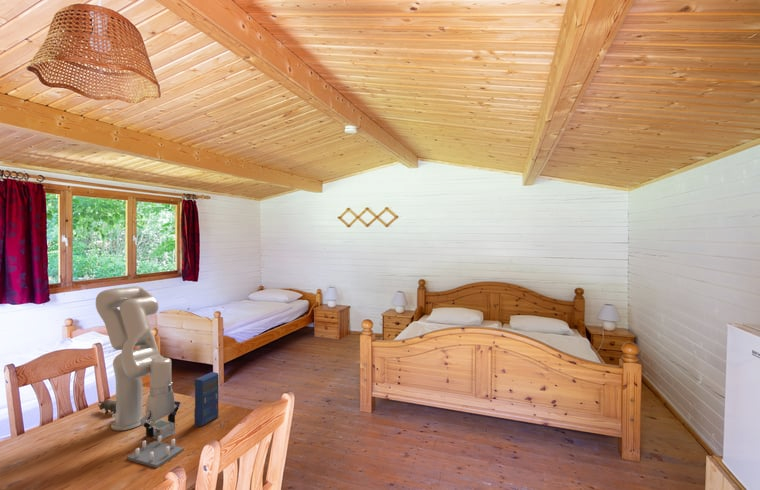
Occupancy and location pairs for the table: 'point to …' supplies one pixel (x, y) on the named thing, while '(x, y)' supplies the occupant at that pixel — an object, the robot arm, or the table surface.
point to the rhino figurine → (108, 406)
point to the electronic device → (206, 398)
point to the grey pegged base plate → (155, 453)
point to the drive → (163, 429)
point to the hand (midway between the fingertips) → (161, 430)
